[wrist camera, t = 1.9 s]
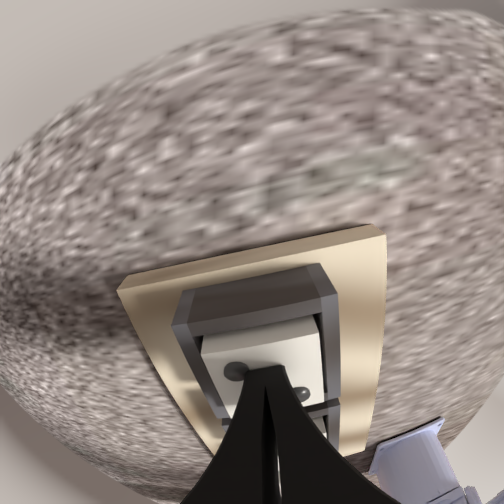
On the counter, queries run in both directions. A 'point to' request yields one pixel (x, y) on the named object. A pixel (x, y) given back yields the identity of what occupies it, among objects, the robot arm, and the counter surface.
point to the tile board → (269, 311)
